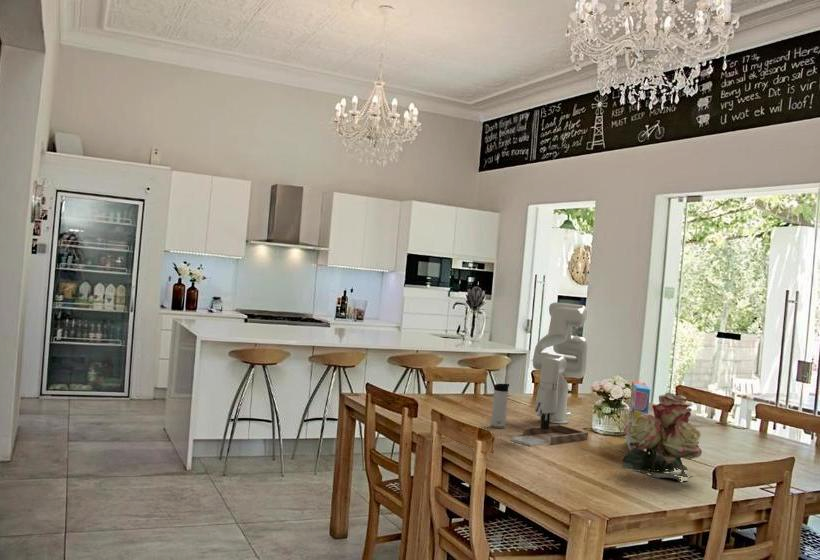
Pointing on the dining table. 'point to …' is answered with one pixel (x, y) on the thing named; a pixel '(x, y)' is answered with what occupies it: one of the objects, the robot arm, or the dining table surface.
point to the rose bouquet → (663, 438)
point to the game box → (637, 404)
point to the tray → (556, 434)
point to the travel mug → (499, 405)
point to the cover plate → (528, 440)
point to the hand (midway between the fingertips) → (544, 428)
